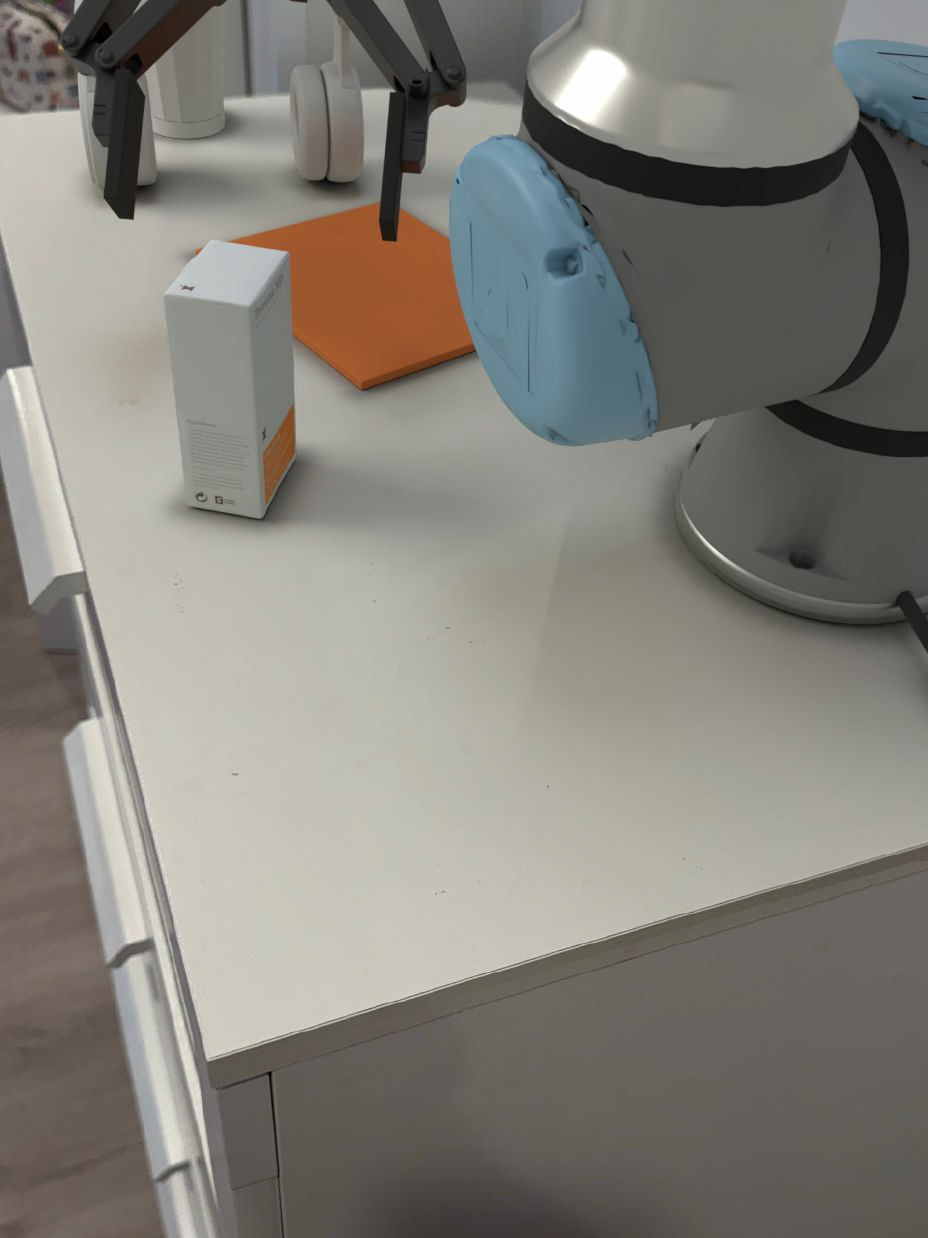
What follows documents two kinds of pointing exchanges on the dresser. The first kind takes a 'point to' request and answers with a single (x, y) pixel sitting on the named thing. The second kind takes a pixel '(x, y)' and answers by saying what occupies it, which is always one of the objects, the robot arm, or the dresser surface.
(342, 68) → the headphones
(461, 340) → the orange rectangular board
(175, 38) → the robot arm
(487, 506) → the dresser surface
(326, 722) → the dresser surface
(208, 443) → the cosmetic box
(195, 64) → the cup
